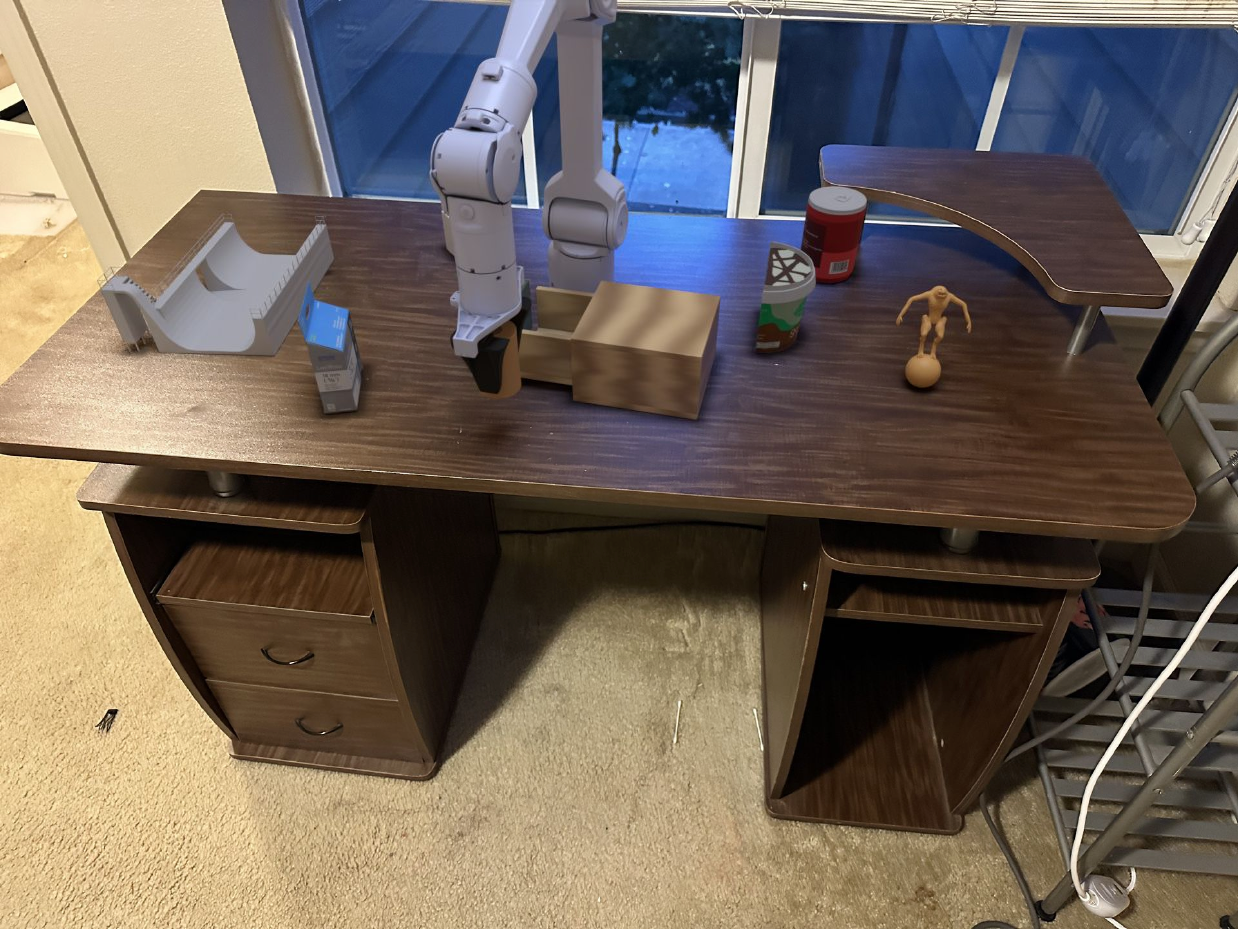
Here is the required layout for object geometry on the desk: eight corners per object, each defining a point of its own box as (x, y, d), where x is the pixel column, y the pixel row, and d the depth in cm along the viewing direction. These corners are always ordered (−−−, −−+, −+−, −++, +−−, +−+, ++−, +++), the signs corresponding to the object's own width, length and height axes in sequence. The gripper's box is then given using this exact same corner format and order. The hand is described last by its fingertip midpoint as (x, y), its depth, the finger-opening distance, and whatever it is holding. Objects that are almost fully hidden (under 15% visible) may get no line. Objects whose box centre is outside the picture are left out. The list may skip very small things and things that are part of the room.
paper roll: (470, 381, 91) (463, 325, 87) (509, 368, 93) (504, 313, 88) (488, 404, 88) (481, 347, 84) (528, 390, 90) (523, 334, 85)
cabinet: (572, 400, 99) (570, 338, 94) (601, 340, 109) (601, 280, 103) (696, 420, 97) (701, 357, 91) (715, 356, 106) (720, 295, 100)
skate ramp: (274, 355, 106) (251, 284, 99) (127, 351, 107) (95, 280, 100) (334, 258, 125) (318, 193, 118) (209, 255, 125) (186, 190, 119)
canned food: (860, 266, 123) (875, 193, 116) (839, 290, 118) (854, 215, 111) (810, 252, 126) (822, 181, 119) (788, 275, 121) (799, 201, 114)
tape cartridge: (359, 412, 98) (335, 319, 89) (323, 415, 97) (297, 322, 89) (364, 367, 104) (342, 277, 96) (331, 370, 104) (307, 279, 96)
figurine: (883, 389, 101) (906, 301, 93) (882, 361, 106) (904, 274, 98) (956, 398, 100) (986, 309, 92) (952, 369, 104) (979, 281, 96)
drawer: (457, 373, 102) (450, 324, 97) (492, 321, 110) (487, 274, 106) (601, 395, 99) (600, 346, 94) (625, 340, 107) (626, 292, 103)
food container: (804, 365, 105) (816, 293, 98) (753, 359, 106) (763, 287, 99) (807, 313, 114) (819, 244, 107) (761, 308, 115) (770, 239, 108)
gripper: (474, 221, 87) (487, 334, 96) (414, 291, 76) (435, 411, 85) (540, 229, 86) (547, 343, 95) (488, 302, 75) (502, 422, 84)
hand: (498, 376), depth 90 cm, fingers closed on paper roll, 4 cm apart
